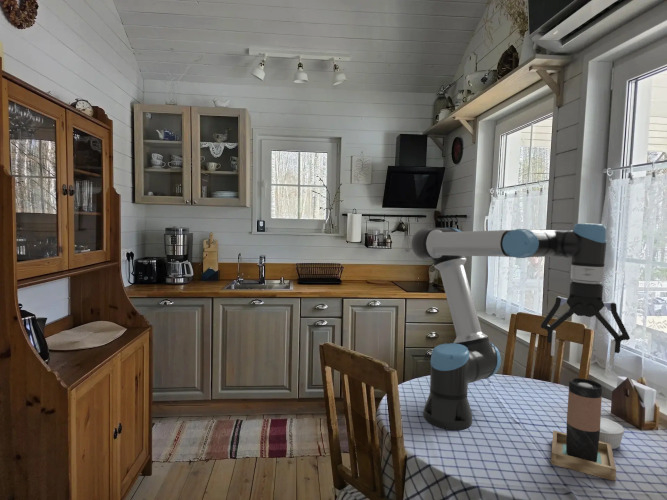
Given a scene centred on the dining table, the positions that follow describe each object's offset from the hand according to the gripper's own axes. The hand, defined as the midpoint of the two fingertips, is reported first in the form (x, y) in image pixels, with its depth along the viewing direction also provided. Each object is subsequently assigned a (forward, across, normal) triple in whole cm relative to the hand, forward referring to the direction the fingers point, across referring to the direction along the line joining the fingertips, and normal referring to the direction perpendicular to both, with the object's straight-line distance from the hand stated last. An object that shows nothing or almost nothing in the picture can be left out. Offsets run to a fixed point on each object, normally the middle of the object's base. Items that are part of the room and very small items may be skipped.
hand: (581, 359), depth 110 cm
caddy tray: (+27, +2, -1) cm, 27 cm away
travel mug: (+26, +2, -1) cm, 26 cm away
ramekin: (+27, +6, +13) cm, 31 cm away
